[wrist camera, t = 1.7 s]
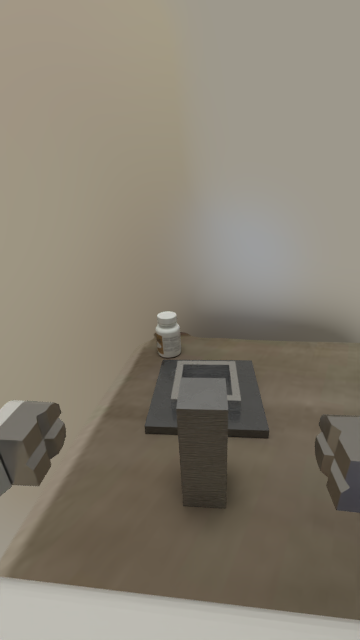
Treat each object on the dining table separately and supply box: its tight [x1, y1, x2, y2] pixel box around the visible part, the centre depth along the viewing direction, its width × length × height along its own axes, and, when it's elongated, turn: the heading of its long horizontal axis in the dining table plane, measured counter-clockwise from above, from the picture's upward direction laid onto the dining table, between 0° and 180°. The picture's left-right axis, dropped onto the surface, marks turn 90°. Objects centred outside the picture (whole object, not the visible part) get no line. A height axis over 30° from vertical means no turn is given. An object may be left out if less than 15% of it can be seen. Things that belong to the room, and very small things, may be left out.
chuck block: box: [145, 360, 269, 438], centre depth 40 cm, size 15×15×3 cm
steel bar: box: [176, 378, 228, 509], centre depth 26 cm, size 4×4×12 cm
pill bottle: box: [156, 311, 181, 358], centre depth 51 cm, size 4×4×8 cm
